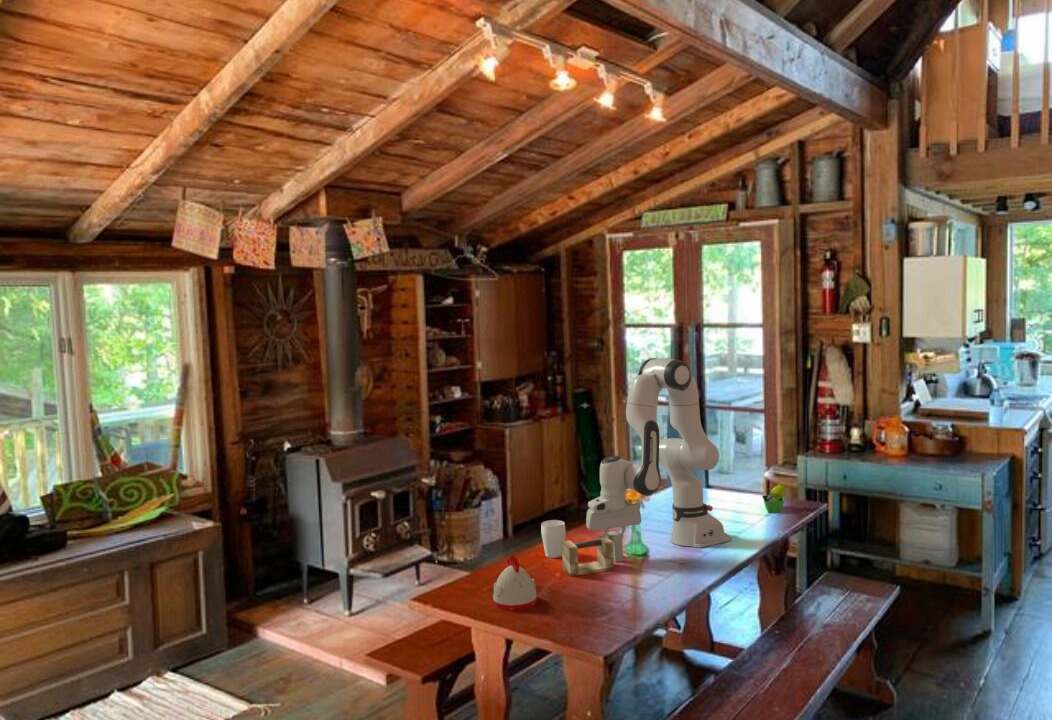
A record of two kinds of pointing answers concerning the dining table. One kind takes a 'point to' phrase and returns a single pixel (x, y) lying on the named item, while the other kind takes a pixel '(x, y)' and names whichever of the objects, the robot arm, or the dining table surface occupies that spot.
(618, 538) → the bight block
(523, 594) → the kitchen timer
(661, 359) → the robot arm
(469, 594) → the dining table surface
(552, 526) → the cup
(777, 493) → the fruit basket
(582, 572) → the wooden frame with rod
